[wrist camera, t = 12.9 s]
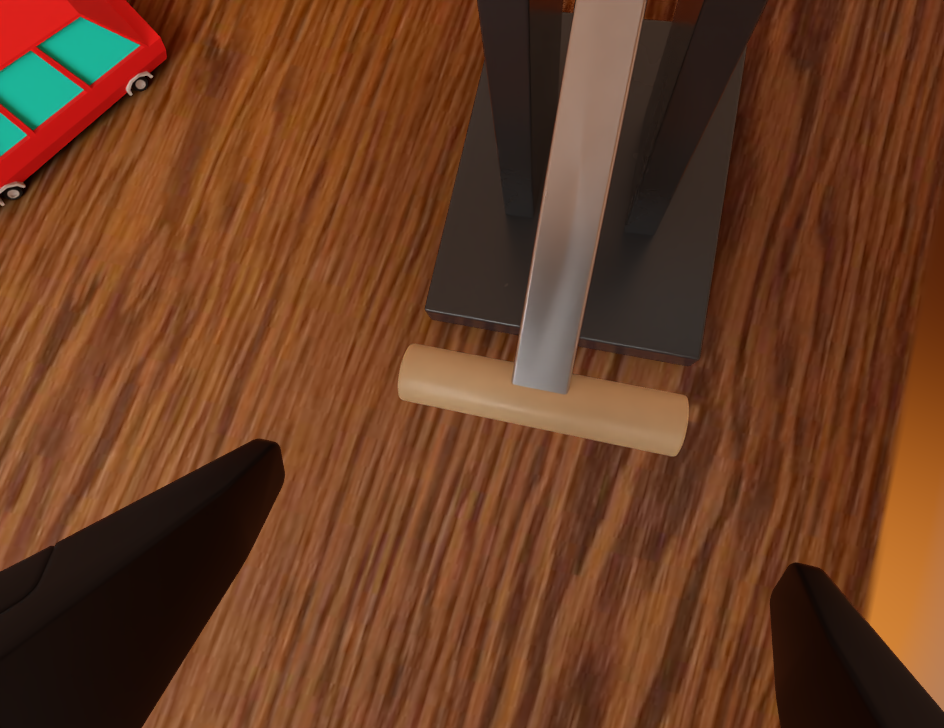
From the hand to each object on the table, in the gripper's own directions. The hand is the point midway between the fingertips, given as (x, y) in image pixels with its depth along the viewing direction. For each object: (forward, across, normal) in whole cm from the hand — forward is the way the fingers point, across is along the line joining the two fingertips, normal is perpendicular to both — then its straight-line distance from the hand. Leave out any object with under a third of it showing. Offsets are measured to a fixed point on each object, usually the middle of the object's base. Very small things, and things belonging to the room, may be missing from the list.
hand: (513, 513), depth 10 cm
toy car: (+14, +24, -2) cm, 28 cm away
